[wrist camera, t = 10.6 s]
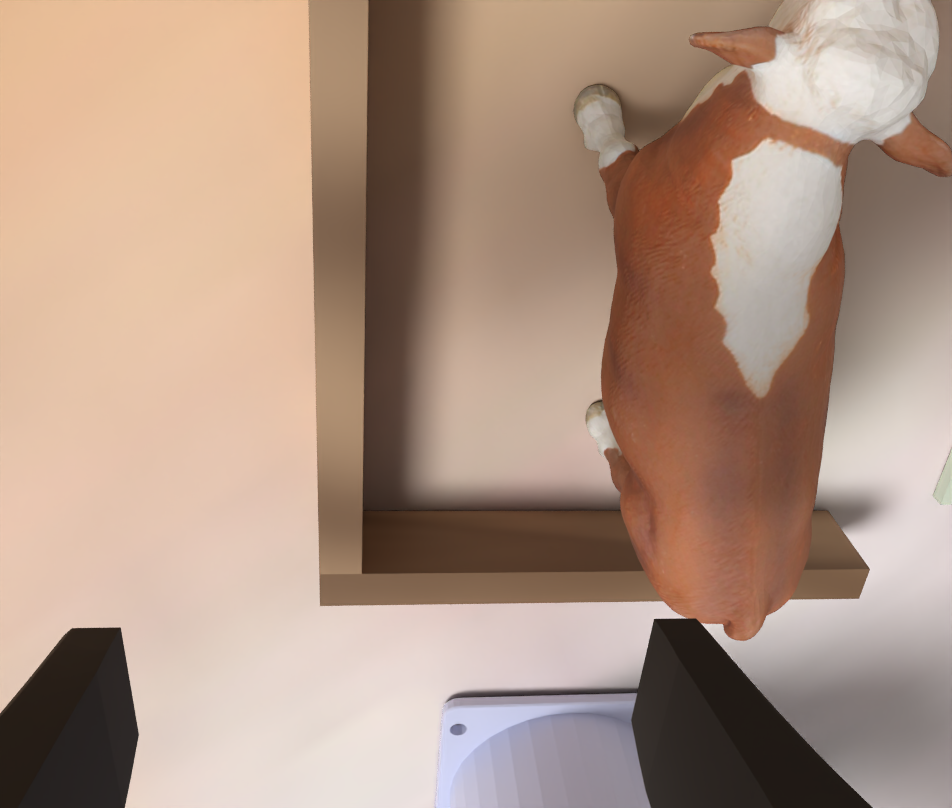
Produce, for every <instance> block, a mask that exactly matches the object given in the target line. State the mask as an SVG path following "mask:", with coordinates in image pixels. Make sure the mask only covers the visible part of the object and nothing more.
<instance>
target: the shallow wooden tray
mask: <svg viewBox="0 0 952 808" xmlns="http://www.w3.org/2000/svg"><path fill="white" fill-rule="evenodd" d="M368 25H369V0H309V49H310V101H311V154H312V206H313V259H314V311H315V364H316V416H317V469H318V521H319V574H320V606H342V605H416V604H491V603H565V602H639V601H663V600H662V599H661V598H660V596H659V595H658V593H657V592H656V590H655V589H654V587H653V586H652V584H651V582H650V581H649V579H648V577H647V575H646V573H645V571H644V570H643V568H642V565H641V563H640V561H639V559H638V557H637V555H636V552H635V550H634V548H633V545H632V543H631V540H630V537H629V534H628V530H627V527H626V525H625V522H624V520H623V517H622V513H621V511H363V453H364V368H365V282H366V197H367V111H368ZM811 520H812V538H811V545H810V551H809V556H808V559H807V562H806V565H805V567H804V570H803V572H802V575H801V577H800V580H799V583H798V585H797V588H796V590H795V592H794V594H793V595H792V597H791V598H790V599H859V597H860V594H861V592H862V589H863V586H864V584H865V581H866V578H867V576H868V573H869V570H870V569H869V567H868V566H867V564H866V563H865V562H864V560H863V559H862V557H861V556H860V555H859V553H858V552H857V550H856V549H855V548H854V546H853V545H852V544H851V542H850V541H849V539H848V538H847V537H846V535H845V534H844V532H843V531H842V530H841V528H840V527H839V525H838V524H837V523H836V521H835V520H834V518H833V517H832V516H831V514H830V513H829V512H828V511H813V512H812V516H811Z"/></svg>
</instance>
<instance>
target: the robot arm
mask: <svg viewBox="0 0 952 808" xmlns="http://www.w3.org/2000/svg"><path fill="white" fill-rule="evenodd" d="M455 724H460V725H455ZM138 736H139V733H138V728H137V722H136V716H135V710H134V704H133V698H132V692H131V686H130V680H129V674H128V668H127V663H126V657H125V651H124V645H123V639H122V633H121V628H72V629H71V630H70V631H68V632H67V633H66V634H65V635H64V636H63V637H62V639H61V640H60V641H59V642H58V644H57V645H56V646H55V647H54V649H53V650H52V651H51V652H50V654H49V655H48V656H47V657H46V659H45V660H44V661H43V662H42V664H41V665H40V666H39V667H38V669H37V670H36V671H35V672H34V673H33V675H32V676H31V677H30V678H29V680H28V681H27V682H26V683H25V684H24V686H23V687H22V688H21V689H20V691H19V692H18V693H17V694H16V695H15V697H14V698H13V699H12V700H11V701H10V703H9V704H8V705H7V706H6V707H5V708H4V710H3V711H2V712H1V713H0V808H125V803H126V798H127V794H128V789H129V784H130V779H131V774H132V768H133V763H134V757H135V752H136V747H137V741H138ZM435 808H872V807H871V806H870V805H869V804H868V803H867V802H866V801H865V800H864V799H863V798H862V797H861V796H860V795H859V794H858V793H857V792H856V791H855V790H854V789H853V788H852V787H851V786H850V785H848V784H847V783H846V782H845V781H844V780H843V779H842V778H841V777H840V776H839V775H838V774H837V773H836V772H835V771H834V770H833V769H832V768H831V767H830V766H829V765H828V764H827V763H826V762H825V761H824V760H823V759H822V758H821V757H820V756H819V755H818V754H817V753H816V752H815V750H814V749H813V748H812V747H811V746H810V745H809V744H808V743H807V742H806V741H805V740H804V739H803V738H802V737H801V736H800V734H799V733H798V732H797V731H796V730H795V729H794V728H793V727H792V726H791V725H790V724H789V723H788V722H787V721H786V720H785V718H784V717H783V716H782V715H781V714H780V713H779V712H778V711H777V710H776V709H775V708H774V706H773V705H772V704H771V703H770V702H769V701H768V700H767V699H766V698H765V696H764V695H763V694H762V693H761V692H760V691H759V690H758V689H757V687H756V686H755V685H754V684H753V683H752V682H751V681H750V679H749V678H748V677H747V676H746V675H745V674H744V673H743V671H742V670H741V669H740V668H739V667H738V666H737V665H736V663H735V662H734V661H733V660H732V659H731V658H730V656H729V655H728V654H727V653H726V652H725V651H724V649H723V648H722V647H721V646H720V645H719V644H718V643H717V641H716V640H715V639H714V638H713V637H712V636H711V634H710V633H709V632H708V631H707V630H706V629H705V628H704V626H703V625H702V624H701V623H700V622H699V621H698V620H697V619H696V618H689V619H654V622H653V627H652V631H651V635H650V640H649V644H648V648H647V653H646V657H645V661H644V666H643V670H642V675H641V679H640V683H639V688H638V692H637V693H623V694H585V695H547V696H508V697H470V698H455V699H452V700H450V701H448V702H447V703H446V704H445V705H444V706H443V709H442V720H441V733H440V746H439V759H438V772H437V785H436V798H435Z"/></svg>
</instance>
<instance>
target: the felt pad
mask: <svg viewBox="0 0 952 808" xmlns="http://www.w3.org/2000/svg"><path fill="white" fill-rule="evenodd" d="M933 497H934V498H935V499H936V500H937V502H938V503H939V504H940V505H952V449H951V452H950V454H949V457H948V459H947V462H946V464H945V467H944V469H943V472H942V474H941V477H940V479H939V482H938V484H937V487H936V489H935V492H934V494H933Z"/></svg>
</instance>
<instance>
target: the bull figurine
mask: <svg viewBox="0 0 952 808" xmlns="http://www.w3.org/2000/svg"><path fill="white" fill-rule="evenodd" d="M689 41H690V44H691V45H692V46H694V47H698V48H702V49H706V50H708V51H711V52H713V53H715V54H716V55H718V56H719V57H721V58H723V59H724V60H726V61H728V62H729V63H731V64H733V65H731V66H728V67H726V68H724V69H722V70H721V71H720V72H719V73H717V74H716V75H715V76H714V77H713V78H712V79H711V80H710V81H709V82H708V83H707V84H706V85H705V86H704V87H703V89H702V90H701V92H700V93H699V95H698V96H697V98H696V99H695V101H694V102H693V103H692V105H691V106H690V108H689V109H688V110H687V112H686V114H685V115H684V117H683V118H682V120H681V121H680V122H679V123H678V124H676V125H675V126H674V127H673V128H672V129H670V130H669V131H668V132H667V133H666V134H664V135H663V136H662V137H661V138H659V139H657V140H655V141H653V142H652V143H650V144H648V145H646V146H645V147H643V148H642V149H641V150H640V151H639V149H638V148H637V147H636V146H635V145H634V144H633V143H631V142H628V141H626V140H625V138H624V137H625V127H624V124H623V119H622V110H621V104H620V101H619V99H618V96H617V95H616V93H615V92H614V91H612V90H611V89H609V88H607V87H605V86H604V85H593V86H589V87H587V88H585V89H584V90H583V91H581V93H580V94H579V96H578V98H577V100H576V101H575V104H574V110H573V111H574V116H575V120H576V122H577V124H578V125H579V126H580V128H581V129H582V131H583V133H584V145H585V148H587V149H589V150H594V151H598V152H600V156H599V160H598V161H599V172H600V175H601V177H602V179H603V181H604V183H605V186H606V192H607V202H608V206H609V209H610V212H611V214H612V216H613V218H614V243H615V253H616V260H617V269H618V273H617V279H616V284H615V289H614V295H613V301H612V306H611V314H610V323H609V327H608V331H607V335H606V339H605V344H604V351H603V358H602V370H601V389H602V400H603V402H598V403H594V404H592V405H591V406H590V407H589V409H588V410H587V413H586V424H587V428H588V431H589V433H590V435H591V436H592V437H593V438H594V439H595V440H596V441H597V444H598V448H599V453H600V455H602V456H603V457H604V458H606V459H607V460H608V462H609V465H610V469H611V477H612V480H613V483H614V485H615V487H616V488H617V490H618V491H619V492H620V493H621V496H620V508H621V513H622V517H623V520H624V522H625V525H626V527H627V530H628V534H629V537H630V540H631V543H632V545H633V548H634V550H635V552H636V555H637V557H638V559H639V561H640V563H641V565H642V568H643V570H644V571H645V573H646V575H647V577H648V579H649V581H650V582H651V584H652V586H653V587H654V589H655V590H656V592H657V593H658V595H659V596H660V598H661V599H662V600H663V601H664V602H665V603H666V604H667V605H668V606H669V607H670V608H671V609H672V610H673V611H675V612H676V613H678V614H680V615H682V616H684V617H686V618H696V619H697V620H698V621H699V622H700V623H705V624H723V626H724V631H725V633H726V634H727V636H728V637H730V638H732V639H735V640H740V641H744V640H748V639H751V638H752V637H754V636H755V635H756V634H757V632H758V631H759V630H760V628H761V627H762V625H763V623H764V620H765V617H766V615H769V614H771V613H773V612H775V611H777V610H778V609H779V608H781V607H782V606H783V605H784V604H785V603H786V602H787V601H788V600H789V599H790V598H791V597H792V595H793V594H794V592H795V590H796V588H797V585H798V583H799V580H800V577H801V575H802V572H803V570H804V567H805V565H806V562H807V559H808V556H809V551H810V545H811V538H812V520H811V516H812V512H813V508H814V505H815V499H816V493H817V485H818V477H819V471H820V465H821V459H822V450H823V439H824V432H825V425H826V419H827V411H828V403H829V393H830V383H831V376H832V370H833V359H834V348H835V330H836V324H837V320H838V316H839V311H840V305H841V299H842V292H843V285H844V277H845V254H844V249H843V244H842V238H841V233H840V228H839V221H840V218H841V214H842V201H843V194H844V189H843V188H844V182H845V176H846V170H847V164H848V156H849V154H850V151H851V150H852V148H853V147H854V145H855V144H856V143H858V142H859V141H861V140H868V139H870V140H871V141H872V142H874V143H875V144H877V145H878V146H879V147H880V148H881V149H882V150H883V151H884V152H885V153H886V154H887V155H888V156H890V157H891V158H892V159H894V160H896V161H899V162H902V163H906V164H909V165H912V166H916V167H920V168H923V169H925V170H926V171H928V172H930V173H932V174H934V175H936V176H939V177H949V176H952V151H951V149H950V147H949V146H948V145H947V144H946V142H944V141H943V140H942V139H940V138H939V137H937V136H936V135H934V134H933V133H931V132H930V131H928V130H927V129H926V128H925V127H924V126H922V125H921V123H920V122H919V121H918V119H917V118H916V117H915V115H914V114H913V112H912V111H913V110H914V109H915V108H916V107H917V106H918V105H919V104H920V103H921V101H922V100H923V98H924V97H925V93H926V89H927V85H928V80H929V78H930V76H931V74H932V73H933V71H934V69H935V65H936V60H937V55H938V49H939V27H938V21H937V16H936V12H935V9H934V7H933V5H932V3H931V1H930V0H784V1H783V2H782V4H781V5H780V7H779V8H778V10H777V11H776V13H775V15H774V16H773V18H772V20H771V22H770V24H769V26H768V27H753V28H747V29H742V30H736V31H730V32H703V33H696V34H693V35H691V36H690V37H689Z"/></svg>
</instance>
